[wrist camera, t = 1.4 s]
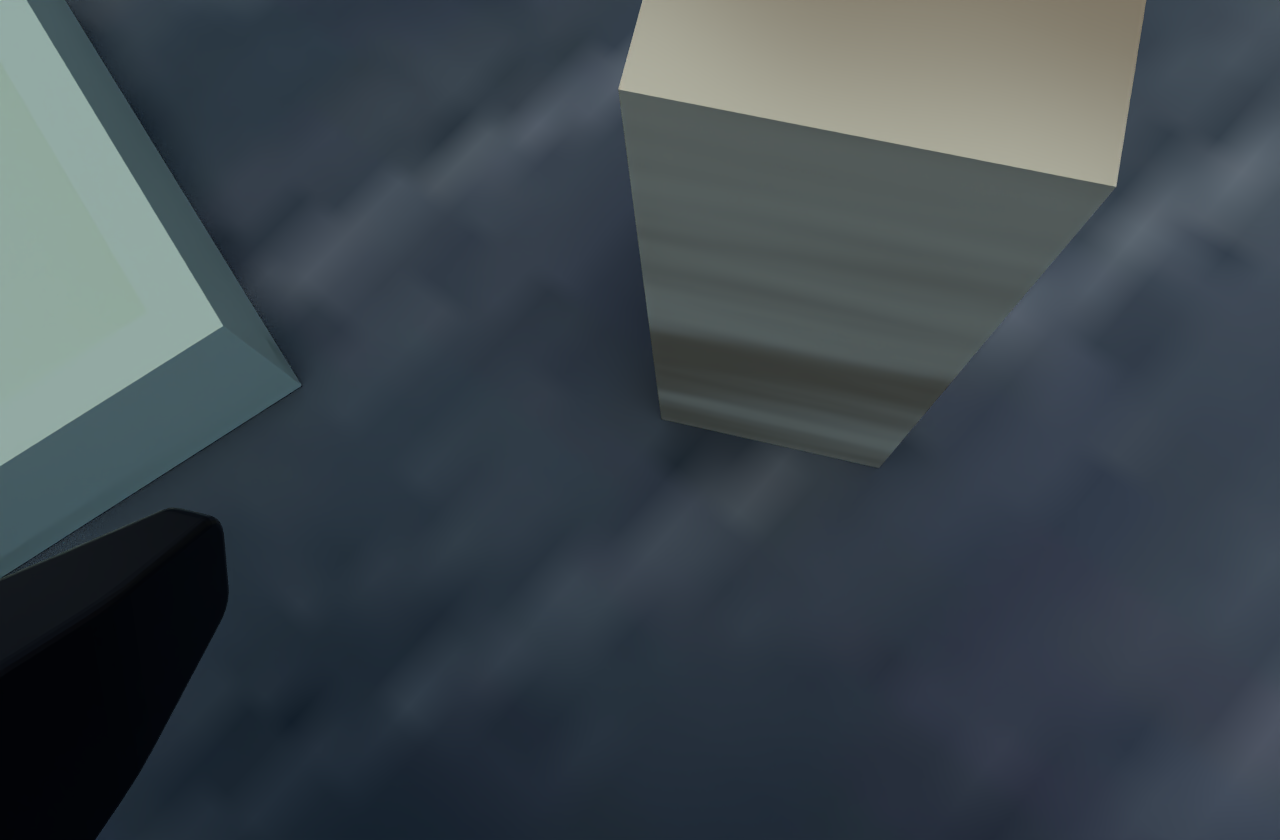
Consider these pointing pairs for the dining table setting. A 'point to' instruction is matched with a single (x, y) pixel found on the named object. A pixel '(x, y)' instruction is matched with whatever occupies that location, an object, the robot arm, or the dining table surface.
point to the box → (103, 297)
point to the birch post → (857, 196)
